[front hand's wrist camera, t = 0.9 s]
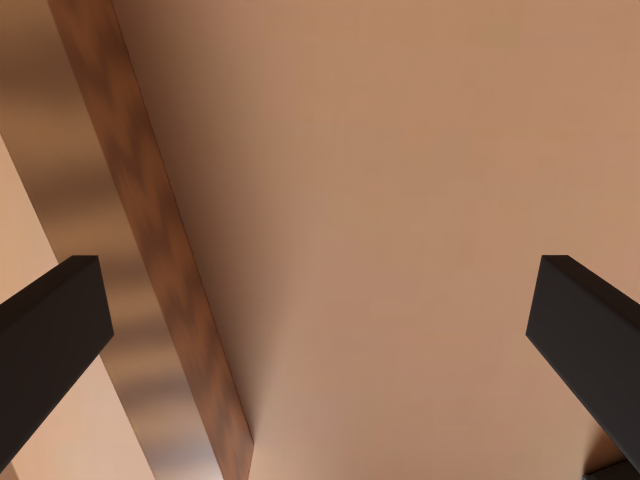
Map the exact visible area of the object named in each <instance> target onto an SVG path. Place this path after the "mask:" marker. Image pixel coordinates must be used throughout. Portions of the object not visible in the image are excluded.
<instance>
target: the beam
mask: <svg viewBox="0 0 640 480" xmlns="http://www.w3.org/2000/svg"><path fill="white" fill-rule="evenodd" d="M0 134H1V136H2V139H3V141H4V143H5V145H6V148H7V150H8V152H9V154H10V156H11V159H12V161H13V163H14V165H15V168H16V170H17V172H18V174H19V176H20V179H21V181H22V183H23V185H24V188H25V190H26V192H27V194H28V197H29V199H30V201H31V203H32V205H33V208H34V210H35V212H36V214H37V217H38V219H39V221H40V223H41V226H42V228H43V230H44V232H45V234H46V237H47V239H48V241H49V243H50V246H51V248H52V250H53V252H54V254H55V257H56V259H57V261H58V263H59V264H60V263H62V262H63V261H64V260H66V259H67V258H69V257H70V256H72V255H98V257H99V262H100V267H101V272H102V277H103V282H104V287H105V291H106V296H107V301H108V306H109V311H110V316H111V321H112V325H113V330H114V336H113V337H112V339H111V340H110V341H109V342H108V343H107V345H106V346H105V347H104V348H103V349H102V351H101V352H100V353H99V355H100V357H101V359H102V361H103V364H104V366H105V368H106V370H107V373H108V375H109V377H110V379H111V381H112V384H113V386H114V388H115V390H116V393H117V395H118V397H119V399H120V401H121V404H122V406H123V408H124V410H125V413H126V415H127V417H128V419H129V422H130V424H131V426H132V428H133V430H134V433H135V435H136V437H137V439H138V442H139V444H140V446H141V448H142V451H143V453H144V455H145V457H146V459H147V462H148V464H149V466H150V468H151V471H152V473H153V475H154V477H155V479H156V480H248V477H249V472H250V466H251V461H252V455H253V450H254V444H253V441H252V438H251V435H250V431H249V428H248V425H247V422H246V419H245V416H244V413H243V410H242V407H241V404H240V400H239V397H238V394H237V391H236V388H235V385H234V382H233V379H232V376H231V372H230V369H229V366H228V363H227V360H226V357H225V354H224V351H223V348H222V345H221V341H220V338H219V335H218V332H217V329H216V326H215V323H214V320H213V317H212V313H211V310H210V307H209V304H208V301H207V298H206V295H205V292H204V289H203V286H202V282H201V279H200V276H199V273H198V270H197V267H196V264H195V261H194V258H193V254H192V251H191V248H190V245H189V242H188V239H187V236H186V233H185V230H184V226H183V223H182V220H181V217H180V214H179V211H178V208H177V205H176V202H175V199H174V195H173V192H172V189H171V186H170V183H169V180H168V177H167V174H166V171H165V167H164V164H163V161H162V158H161V155H160V152H159V149H158V146H157V143H156V140H155V136H154V133H153V130H152V127H151V124H150V121H149V118H148V115H147V112H146V108H145V105H144V102H143V99H142V96H141V93H140V90H139V87H138V84H137V81H136V77H135V74H134V71H133V68H132V65H131V62H130V59H129V56H128V53H127V49H126V46H125V43H124V40H123V37H122V34H121V31H120V28H119V25H118V22H117V18H116V15H115V12H114V9H113V6H112V3H111V0H0Z"/></svg>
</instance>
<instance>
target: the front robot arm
mask: <svg viewBox="0 0 640 480" xmlns="http://www.w3.org/2000/svg"><path fill="white" fill-rule="evenodd" d="M113 336H114V330H113V325H112V321H111V316H110V311H109V306H108V301H107V296H106V291H105V287H104V282H103V277H102V272H101V267H100V262H99V257H98V255H72V256H70V257H69V258H67V259H66V260H64V261H63V262H62V263H60V264H59V265H57V266H56V267H54V268H53V269H51V270H50V271H48V272H47V273H46V274H44V275H43V276H41V277H40V278H38V279H37V280H35V281H34V282H32V283H31V284H29V285H28V286H27V287H25V288H24V289H22V290H21V291H19V292H18V293H16V294H15V295H13V296H12V297H11V298H9V299H8V300H6V301H5V302H3V303H2V304H0V473H1V472H2V471H3V470H4V468H5V467H6V466H7V465H8V464H9V462H10V461H11V460H12V459H13V458H14V456H15V455H16V454H17V453H18V452H19V450H20V449H21V448H22V447H23V445H24V444H25V443H26V442H27V441H28V439H29V438H30V437H31V436H32V435H33V433H34V432H35V431H36V430H37V428H38V427H39V426H40V425H41V424H42V422H43V421H44V420H45V419H46V418H47V416H48V415H49V414H50V413H51V411H52V410H53V409H54V408H55V407H56V405H57V404H58V403H59V402H60V400H61V399H62V398H63V397H64V396H65V394H66V393H67V392H68V391H69V390H70V388H71V387H72V386H73V385H74V383H75V382H76V381H77V380H78V379H79V377H80V376H81V375H82V374H83V373H84V371H85V370H86V369H87V368H88V366H89V365H90V364H91V363H92V362H93V360H94V359H95V358H96V357H97V356H98V354H99V353H100V352H101V351H102V349H103V348H104V347H105V346H106V345H107V343H108V342H109V341H110V340H111V339H112V337H113ZM526 336H527V337H528V339H529V340H530V341H531V342H532V343H533V345H534V346H535V347H536V348H537V349H538V351H539V352H540V353H541V354H542V356H543V357H544V358H545V359H546V360H547V362H548V363H549V364H550V365H551V366H552V368H553V369H554V370H555V371H556V373H557V374H558V375H559V376H560V377H561V379H562V380H563V381H564V382H565V383H566V385H567V386H568V387H569V388H570V390H571V391H572V392H573V393H574V394H575V396H576V397H577V398H578V399H579V401H580V402H581V403H582V404H583V405H584V407H585V408H586V409H587V410H588V411H589V413H590V414H591V415H592V416H593V418H594V419H595V420H596V421H597V422H598V424H599V425H600V426H601V427H602V428H603V430H604V431H605V432H606V433H607V435H608V436H609V437H610V438H611V439H612V441H613V442H614V443H615V444H616V445H617V447H618V448H619V449H620V450H621V452H622V453H623V454H624V455H625V456H626V458H627V459H628V460H629V461H630V462H631V464H632V465H633V466H634V467H635V469H636V470H637V471H638V472H639V473H640V304H638V303H637V302H635V301H634V300H632V299H631V298H629V297H628V296H627V295H625V294H624V293H622V292H621V291H619V290H618V289H616V288H615V287H613V286H612V285H611V284H609V283H608V282H606V281H605V280H603V279H602V278H600V277H599V276H597V275H596V274H594V273H593V272H592V271H590V270H589V269H587V268H586V267H584V266H583V265H581V264H580V263H578V262H577V261H576V260H574V259H573V258H571V257H570V256H568V255H542V257H541V262H540V267H539V272H538V277H537V282H536V287H535V291H534V296H533V301H532V306H531V311H530V316H529V320H528V325H527V330H526Z"/></svg>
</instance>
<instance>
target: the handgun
mask: <svg viewBox="0 0 640 480" xmlns="http://www.w3.org/2000/svg"><path fill="white" fill-rule="evenodd" d="M583 480H640V473H639V472H638V471H637V470H636V469H635V467H634V466H633V465H632V464H631V462H630V461H629V460H628V461H625V462H622V463H619V464H616V465H613V466H611V467H608V468H606V469H603V470H601V471H598V472H596V473H593V474H591V475H588V476H587V475H584V476H583Z"/></svg>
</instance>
